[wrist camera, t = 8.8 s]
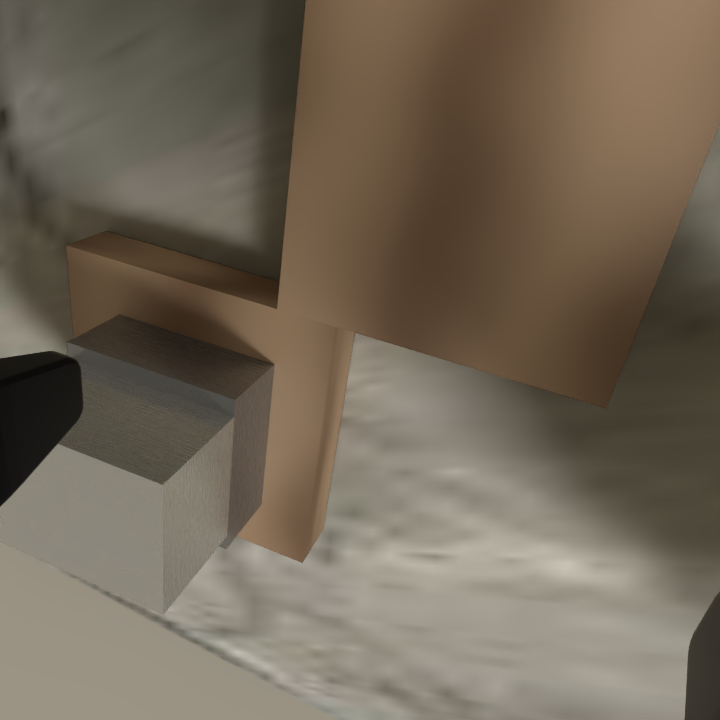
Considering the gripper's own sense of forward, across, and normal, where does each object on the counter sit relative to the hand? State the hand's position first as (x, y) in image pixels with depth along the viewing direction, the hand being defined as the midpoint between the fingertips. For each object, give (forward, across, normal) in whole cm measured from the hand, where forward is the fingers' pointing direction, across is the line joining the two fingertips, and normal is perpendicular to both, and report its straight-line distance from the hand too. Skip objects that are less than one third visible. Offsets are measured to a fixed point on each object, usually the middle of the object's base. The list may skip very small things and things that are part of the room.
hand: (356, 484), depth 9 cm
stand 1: (+12, +9, +8) cm, 17 cm away
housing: (+10, +9, +8) cm, 16 cm away
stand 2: (+12, +1, -2) cm, 12 cm away
